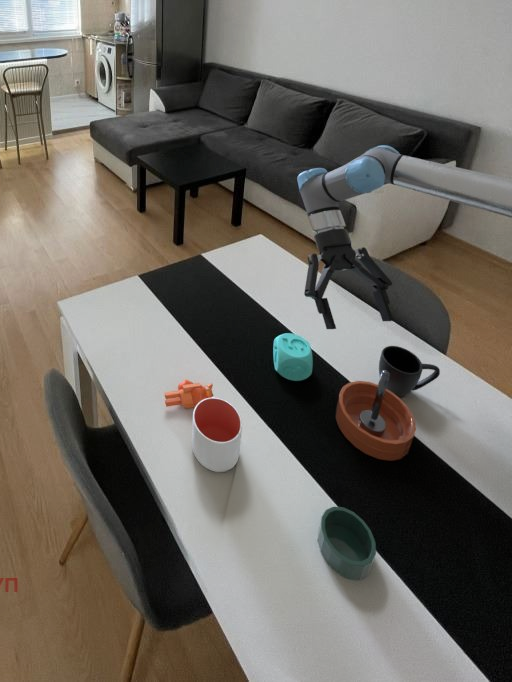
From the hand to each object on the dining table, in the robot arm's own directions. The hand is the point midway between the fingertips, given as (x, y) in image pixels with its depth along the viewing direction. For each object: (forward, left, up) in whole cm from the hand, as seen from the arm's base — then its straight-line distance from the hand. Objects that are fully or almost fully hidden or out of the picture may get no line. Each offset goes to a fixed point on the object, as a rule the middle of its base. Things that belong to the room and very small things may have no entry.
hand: (360, 325), depth 95 cm
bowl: (-6, +7, -22) cm, 24 cm away
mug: (-13, -7, -22) cm, 26 cm away
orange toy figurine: (+33, +18, -22) cm, 44 cm away
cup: (+24, +27, -22) cm, 42 cm away
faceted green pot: (-1, +34, -22) cm, 40 cm away
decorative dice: (+12, -2, -22) cm, 25 cm away
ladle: (-5, +7, -21) cm, 23 cm away
